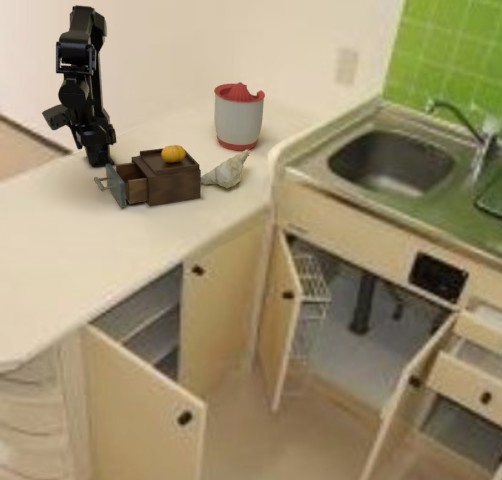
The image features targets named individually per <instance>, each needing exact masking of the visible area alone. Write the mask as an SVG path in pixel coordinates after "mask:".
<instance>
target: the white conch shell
mask: <svg viewBox="0 0 502 480" xmlns="http://www.w3.org/2000/svg"><path fill="white" fill-rule="evenodd" d="M250 154H251V152H250V151H249V149H247V150H242V151H241V152H240V153H238V154H236V155H234V156H232V157H229V158H228V159H226V160H225V161H223V162H221V163H220V164H219V165H217V166H215V167H214V168H213V169H212V170H209V171H208V172H206V173H205V174H203V175H201V184H203V185H206V186H207V185H208V184H213V185H219V186H220V187H223V188H226V189H229V188H231V187H235V186H236V185H237V184H238V183H239V182H240V181H242V171H243V169H244V164H245V162H246V161H247V158H248V157H249V156H250Z"/></svg>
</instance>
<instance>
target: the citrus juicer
mask: <svg viewBox="0 0 502 480" xmlns="http://www.w3.org/2000/svg"><path fill="white" fill-rule="evenodd" d="M213 93H214V119H213V120H214V128H215V129H214V130H215V133H216V138H217V140H218V143H219V144H220V145H221V146H222V147H224V148H226V149H228V150H234V151H237V152H240V151H241V152H242V151H245V150H247V149H248V150H251V149H252V148H255V146H256V144H257V142H258V140H259V137H260V134H261V130H262V126H263V116H264V104H265V103H264V102H265V97H266V94H265V92H264V91H263V90H259V91H257V92H256V94H255V95H254V94H252V93H250V91H249V90H248V84H244V83H243V82H241V81H239V82H236V83H224V84H220V85H218V86H216V87H215V88H214V90H213Z"/></svg>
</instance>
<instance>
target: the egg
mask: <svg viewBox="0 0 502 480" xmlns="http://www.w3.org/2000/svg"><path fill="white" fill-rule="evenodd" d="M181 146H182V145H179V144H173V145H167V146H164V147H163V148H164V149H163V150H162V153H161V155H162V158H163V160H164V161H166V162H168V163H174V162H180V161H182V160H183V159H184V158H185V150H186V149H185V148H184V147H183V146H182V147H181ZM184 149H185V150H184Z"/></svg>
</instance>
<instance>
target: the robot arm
mask: <svg viewBox="0 0 502 480" xmlns="http://www.w3.org/2000/svg"><path fill="white" fill-rule="evenodd" d="M71 8H72V9H71V11H70V12H69V28H68V30H67V31H65V32H62V33H61V34H60V35H59V37H58V41H57V40H56V42H55V74H60V75H62V74H63V75H62V76H63V80H62V82H61V86H59V89H58V93H57V97H58V100H59V103H60V104H56V105H54V106H51V107H49V108H47V109H45V110H42V112H41V114H42V116H43V118H44V120H45V123H46V124H47V126H48V127H49V128H50V130H51V131H57V130H59V129H61V128H64V127H65V126H66V127H68V128H69V130H70V133H71V135H72V138H73V140H74V141H73V142H74V143H75V146H76V149H77V150H83V148H84V151H85V154H86V156H85V159H86V160H87V162H88V164H89V165H90V167H92V168H99V167H106V164H111V166H113V165H116V163H115V161H114V159H113V158H112V157H111V146H114V144H117V132H116V129H115V128H114V126H113V123H111V116H110V114H109V113H108V112H107V110H106V108H105V107H104V99H103V83H102V69H101V67H102V66H101V53H100V52H101V50H102V48H103V46H104V44H105V42H106V38H107V36H108V24H107V21H106V19H105V18H106V17H105V16H104V15H102V14H101V13H99V12H98V11H96V9H95V8H94V7H92V6H90V5H78V4H75V5H73V6H72V7H71Z"/></svg>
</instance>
